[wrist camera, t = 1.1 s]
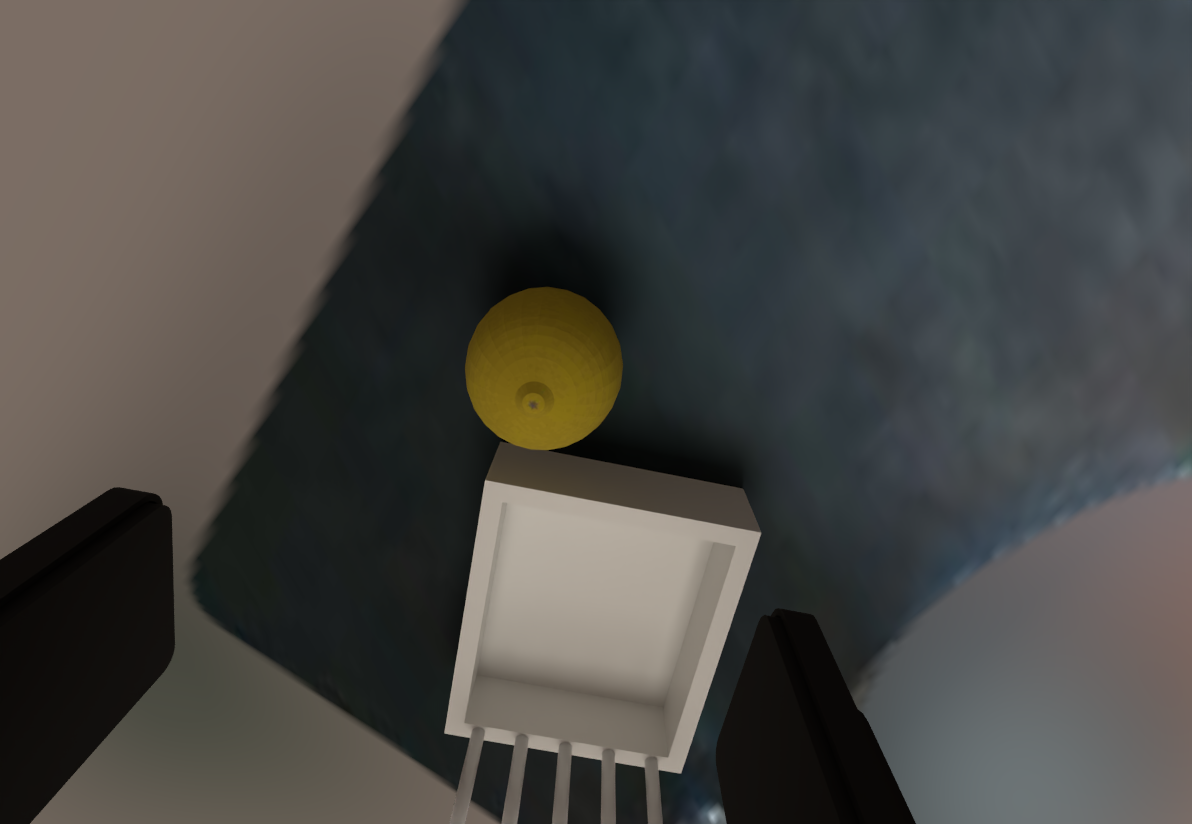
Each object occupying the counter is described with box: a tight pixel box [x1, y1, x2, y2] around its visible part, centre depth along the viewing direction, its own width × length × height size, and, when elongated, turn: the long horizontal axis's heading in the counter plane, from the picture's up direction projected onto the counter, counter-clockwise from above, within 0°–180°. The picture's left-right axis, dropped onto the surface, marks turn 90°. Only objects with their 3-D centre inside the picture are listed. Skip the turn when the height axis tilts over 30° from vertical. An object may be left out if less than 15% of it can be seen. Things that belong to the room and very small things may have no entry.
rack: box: [445, 442, 761, 824], centre depth 27 cm, size 13×11×9 cm
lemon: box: [465, 287, 623, 450], centre depth 24 cm, size 6×6×8 cm
